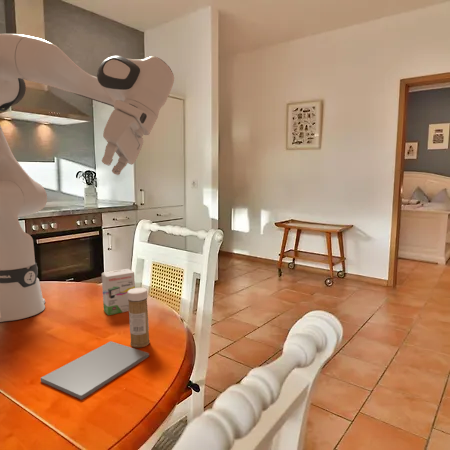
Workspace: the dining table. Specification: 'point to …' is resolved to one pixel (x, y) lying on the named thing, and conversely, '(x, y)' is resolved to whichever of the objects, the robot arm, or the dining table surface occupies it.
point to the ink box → (117, 290)
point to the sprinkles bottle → (138, 317)
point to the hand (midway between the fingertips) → (110, 169)
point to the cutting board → (94, 369)
